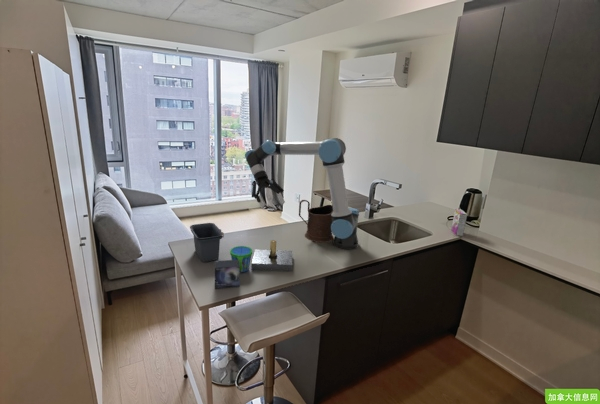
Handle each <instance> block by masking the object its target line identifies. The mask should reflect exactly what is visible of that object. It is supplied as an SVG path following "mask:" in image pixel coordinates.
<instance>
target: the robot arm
mask: <svg viewBox="0 0 600 404" xmlns="http://www.w3.org/2000/svg"><path fill="white" fill-rule="evenodd" d="M346 150H347V147H346V143H345V142H344V141H343V139H341V138H338V137H333V138H328V139H323V140H322V141H285V142H283V141H281V142H280V141H272V140H270V139H267V140H265V141H264V142H263V143H262V144H261V145H259V146H258V147H257V148H256V149H254V148H253V149H249V150H247V151H246V152H245V154H244V158H245V159H246V160H245V161H246V163H247V165H248V166H249V169H250V172H251V174H252V176H253V178H254V180H252V182H251V186H252V189H251V198H254V199H255V200H256V202H257V203H258V204H259V205H260V208H261V209H263V208H264V207H265V203H264V201H263V198H262V196H261V195H260V192H261V190H262V189H270V190H271V191H272V192H275V194H277V197H278V200H279V201H280V204H281V206H282V205H284V204H285V203H286V201H285V199H284V195H283V193H284V191H285V190H284V189H283V187H281V186H280V185H279V184H278V183H277V182H276V181H275V179H274V178H271V179H269V177H268V174H267V171H266V170H265V167H264V164H263V162H264V161H265V160H266V159H267V158H269V157H271V156H280V155H281V156H282V155H285V156H286V155H287V156H288V155H290V156H292V155H293V156H298V155H300V156H301V155H302V156H303V155H304V156H319V159H320V160H321V161H322V167H323V168H325V169H326V174H327V181H328V187H329V193H330V199H331V205H332V206H333V212H332V214H331V217H332V225H331V231H332V235H333V239H332V240H333V241H332V243H333V245H334V246H335V247H337V248H340V249H341V250H344V249H345V250H355V249H356V248H358V247H359V239H358V236H357V235H358V233H357V231H358V225H359V216H360V210H359V209H357V208H354V207H349V201H348V195H347V190H346V182H345V176H344V169H343V165H344V164H345V157H344V155H345V153H346ZM257 186H258V187H257Z"/></svg>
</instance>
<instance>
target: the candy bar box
mask: <svg viewBox="0 0 600 404" xmlns="http://www.w3.org/2000/svg"><path fill="white" fill-rule="evenodd" d="M467 218H468V213H466V212H465V211H464V210H463V209H459V208H456V209H454V213H453V219H452V224H451V231H453V232H454V233H455V234H456V235H460V236H459V237H464V233H465V228H466V224H467V223H466V222H467ZM453 232H452V233H453ZM454 233H453V234H454ZM455 234H454V235H455ZM456 235H455V236H456Z"/></svg>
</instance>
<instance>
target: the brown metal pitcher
mask: <svg viewBox="0 0 600 404" xmlns="http://www.w3.org/2000/svg"><path fill="white" fill-rule="evenodd" d="M303 202H307V216H308V217H307V221H306V219H304V218H303V217H302V215H301V212H302V211H301V209H302V203H303ZM310 204H311V203H310V201H309V200H306V199H302V200H300V201H299V206H298V217H300V219H301V220H302V221H303V222H304V223H305V224H306V225H307V226H306V227H307V228H306V232H305V234H304V238H306V240H308V241H311V242H316V243H328V242H331V241H332V240H334V235H333V233H332V231H331V225H332V217H331V214H332V212H333V206H332V204H326V205H323V206H317V207H315V206H314V207H311V208H310V206H311V205H310Z"/></svg>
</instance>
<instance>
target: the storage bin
mask: <svg viewBox="0 0 600 404" xmlns="http://www.w3.org/2000/svg"><path fill="white" fill-rule="evenodd" d="M189 229H190V231H191V233H192V235H193V243H194V249H195V250H194V251H195V252H196V254H197V255H198V258H199V259H200V261H201V262H202V263H206V262H210V261H215V260H216V261H218V260H219V258H220V245H221V244H220V243H221V240H222V239H223V238H224V236H225V235H224V232H223V231H222V229H220V228H219V227H218V226H217V225H216V223H214V222H206V223H205V222H203V223H197V224H191V225H190V226H189Z"/></svg>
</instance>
